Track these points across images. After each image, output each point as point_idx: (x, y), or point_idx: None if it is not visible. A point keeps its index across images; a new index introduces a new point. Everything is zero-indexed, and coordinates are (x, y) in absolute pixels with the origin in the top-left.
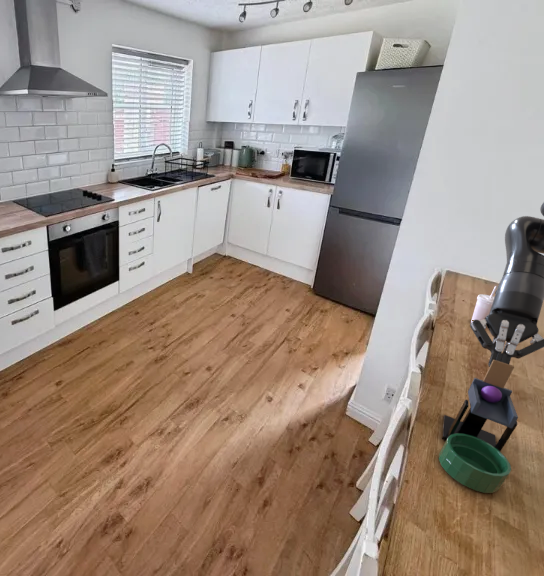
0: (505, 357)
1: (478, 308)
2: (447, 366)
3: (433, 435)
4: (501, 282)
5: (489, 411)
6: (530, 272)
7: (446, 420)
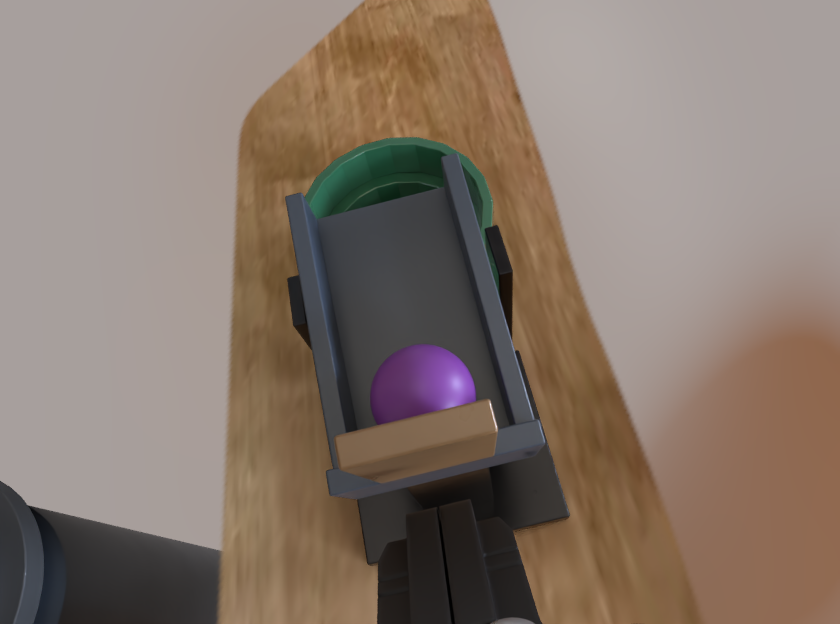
0: (422, 603)
1: None
2: None
3: (546, 350)
4: None
5: (400, 267)
6: None
7: (547, 472)
